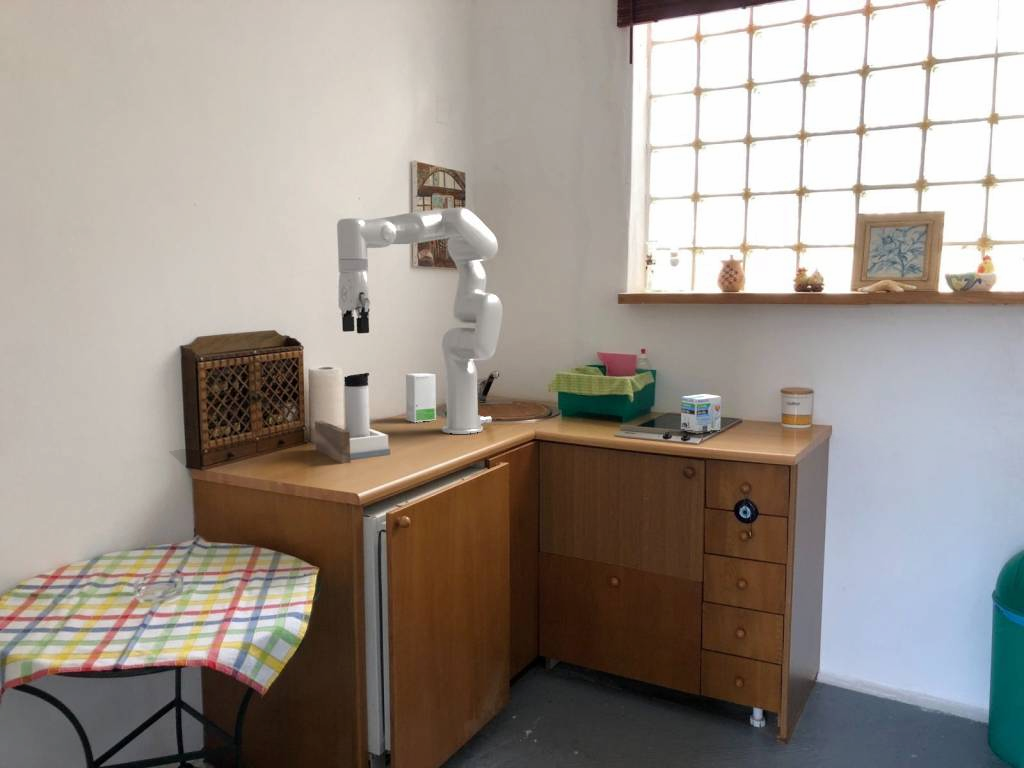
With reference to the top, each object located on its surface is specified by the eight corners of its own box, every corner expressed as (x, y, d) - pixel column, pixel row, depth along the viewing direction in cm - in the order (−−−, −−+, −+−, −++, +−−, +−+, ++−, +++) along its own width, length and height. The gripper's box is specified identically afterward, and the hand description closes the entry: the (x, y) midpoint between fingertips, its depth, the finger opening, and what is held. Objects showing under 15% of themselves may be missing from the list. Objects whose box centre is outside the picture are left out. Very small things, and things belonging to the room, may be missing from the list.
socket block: (369, 445, 222) (368, 428, 221) (390, 454, 210) (389, 435, 210) (327, 450, 216) (327, 432, 215) (347, 460, 204) (346, 440, 203)
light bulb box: (696, 435, 235) (696, 398, 234) (679, 431, 241) (680, 396, 240) (721, 431, 241) (722, 395, 240) (704, 427, 247) (705, 393, 245)
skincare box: (414, 423, 258) (413, 375, 256) (405, 420, 263) (404, 373, 261) (437, 420, 262) (436, 374, 260) (428, 418, 268) (427, 372, 266)
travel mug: (366, 450, 209) (363, 374, 206) (342, 449, 210) (339, 374, 208) (374, 445, 215) (372, 371, 212) (351, 444, 216) (349, 371, 214)
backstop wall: (322, 449, 218) (321, 420, 217) (350, 462, 201) (349, 431, 200) (315, 450, 217) (314, 421, 216) (342, 463, 200) (341, 432, 199)
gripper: (327, 267, 213) (330, 331, 215) (352, 266, 199) (355, 334, 201) (353, 267, 217) (356, 330, 219) (380, 266, 203) (382, 333, 205)
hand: (355, 332), depth 210 cm, fingers open, 9 cm apart
